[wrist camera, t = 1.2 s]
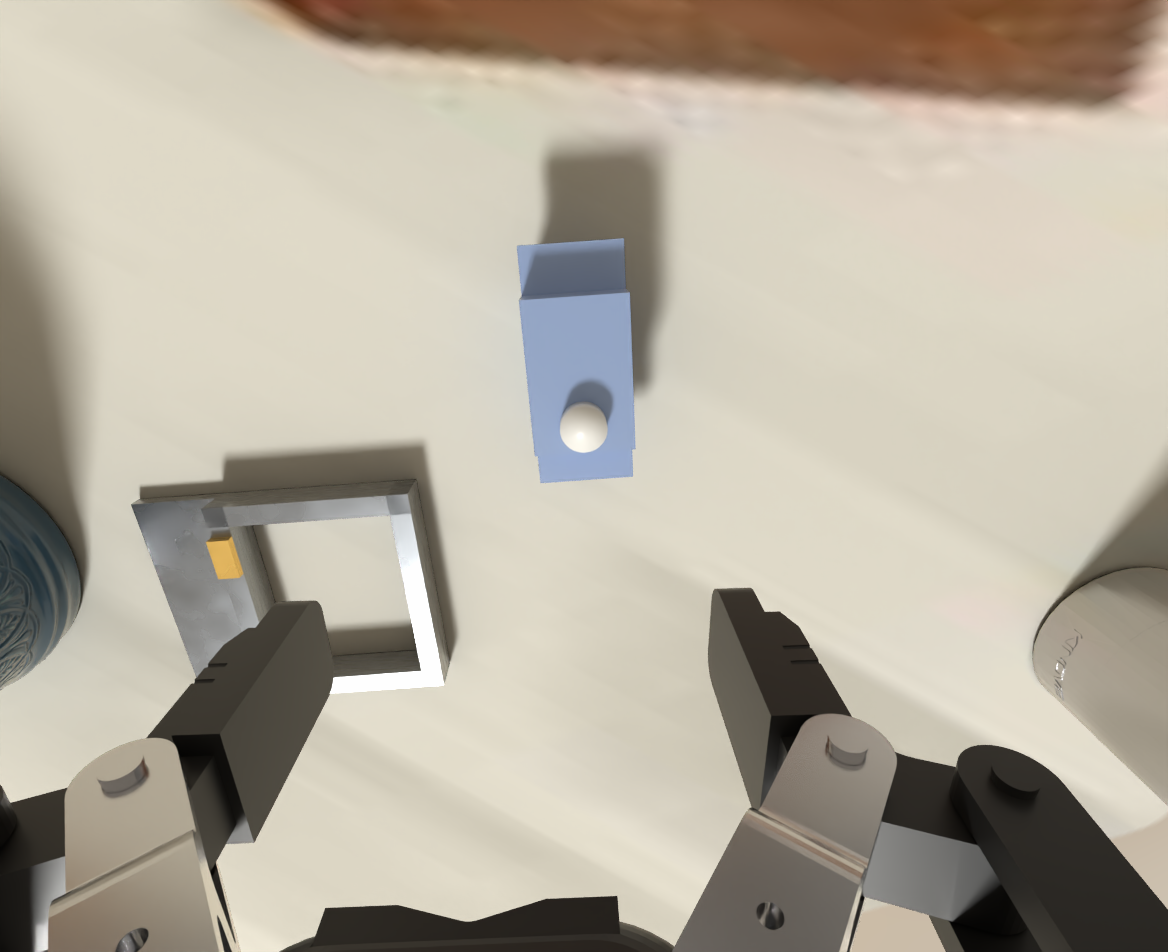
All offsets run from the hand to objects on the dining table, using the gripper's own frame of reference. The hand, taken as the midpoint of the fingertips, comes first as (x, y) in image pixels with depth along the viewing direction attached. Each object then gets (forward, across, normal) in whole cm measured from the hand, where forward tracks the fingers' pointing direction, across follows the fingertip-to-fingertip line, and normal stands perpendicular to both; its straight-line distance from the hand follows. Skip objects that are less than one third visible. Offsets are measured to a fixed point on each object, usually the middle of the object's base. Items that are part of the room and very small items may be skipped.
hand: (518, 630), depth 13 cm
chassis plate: (+17, +13, +9) cm, 23 cm away
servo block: (+17, -2, -2) cm, 18 cm away
